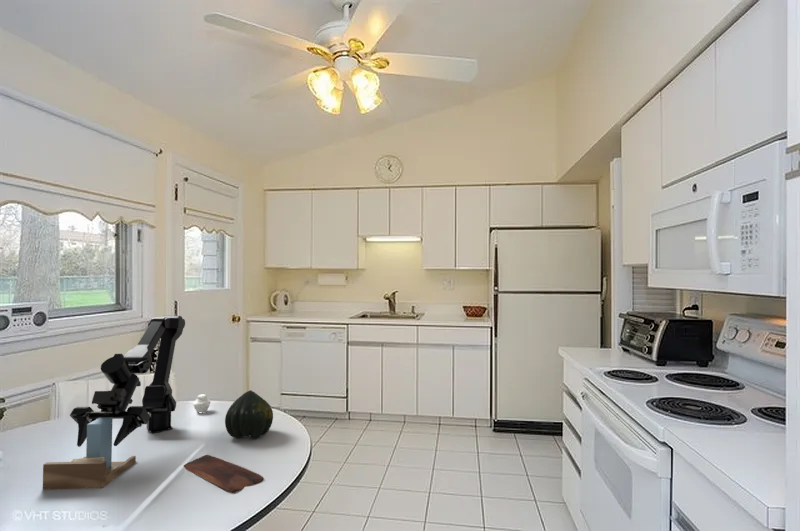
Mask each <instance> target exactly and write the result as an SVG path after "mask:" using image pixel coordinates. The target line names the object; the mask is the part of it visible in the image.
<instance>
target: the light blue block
mask: <svg viewBox="0 0 800 531" xmlns="http://www.w3.org/2000/svg"><path fill="white" fill-rule="evenodd" d="M113 420H114V419H113V418H98V419H96V420H94V421H92V422H91V423H89V424H87V438H86V447H85V448H86V455H85V457H86V458H97V457H104V461H106V469H108V468H109V467H110V466H111V462H112V461H113V460H112V458H113V457H112V454H113Z"/></svg>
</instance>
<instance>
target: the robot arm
mask: <svg viewBox="0 0 800 531" xmlns="http://www.w3.org/2000/svg"><path fill="white" fill-rule="evenodd" d="M185 326H186V320H185V319H184V318H183V317H182V315H162V316H155V317H152V318H151V319H150V322H149V325H148V326H147V328H146V330H145V332H144V333H143V334H142V336H141V338H140V340H139V342H138V343H137V344H136V346H135V347H133V348H131V349H129V350H128V351H127V352H126V353H125V354H123V353H114V355H113V356H111V357H109V358H107V359H106V360H104V361H103V362H102V363H101V365H100V371H101V372H102V373H103V375H104V377H105V378H106V379H107V380H108V381H109V383H110V384H113V386H112V387H111V390H95V391H94V393H93V396H92V400H91V404H92V405H94V404H96V405H97V406H96V407H97V408H98V409H99V410H100V411H94V410H93V408H92V407H90V406H76V407H74V408H73V409H72V410H71V412H70V414H69V417H70V418H71V419H72V420H73V421H74V422H76V424H77V426H78V427H77V428H78V432H77V433H78V434H77V442H76V446H77V447H79V448H80V447H82V446H83V445H84V443H85V441H87V424H89V423H91V422H92V421H94V420H96V419H98V418H113V419H112V420H114V419H115V420H117V419H118V420H119V419H121V420H122V424H121V427H120V428H119V430H118V433H117V435H116V437H115V439H114V440H113V441H114V442H113V446H114V447H117V446H118V445H120V443H121V442H123V441H124V440H125V438H127V437H128V436H129V435H130V434H131V433H132V432H134V431H135V430H136V429H138V428H141V427H142V426H143V425H146V429H147V430H148V432H150V434H156V433H159V432H164V431H169V430H172V429H173V426H172V412H175V411H176V408H177V401H176V399H175V397H174V396H173V389H172V386H171V385H170V383H169V382H170V378H171V377H170V375H171V370H172V364H173V359H174V355H175V354H174V353H175V346H176V343H177V340H178V339H179V338H180V337H181V336H182V334H183V332H184V329H185ZM158 343H159V346H158V353H157V359H156V362H155V369H154V373H153V379H152V382H151V383H150V384H149V385H146V386H145V388H144V394H143V396H142V400H141V404H142V405H135V406H134V405H132V406H131V404H132V403H133V401H134V400H133V398H132V397H133V395H134V393H135V391H136V388H137V387H141V386H142V385H141V384H142V383H141V380H140V377H138V375H139V374H146V373H147V372H148V371H149V370H150V368H151V366H152V362H153V358H152V354H153V351H154V350H155V349H156V346H157V344H158ZM137 374H138V375H137ZM129 404H130V406H129ZM128 406H129V407H128Z"/></svg>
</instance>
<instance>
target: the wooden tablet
mask: <svg viewBox="0 0 800 531" xmlns="http://www.w3.org/2000/svg"><path fill="white" fill-rule="evenodd" d="M183 468H184V469H186V471H187V472H189V473H191V474H194V475H195V476H198V477H199V478H202V479H204V480H206V481H207V482H209V483H211V484H212V485H215V486H217V487H218V488H219V489H220V490H223V491H225V492H227V493H230V494H236V493H239V492H241V491H242V490H244V488H246V487H251V486H255V485H257V484H260V483H261V482H263V481H264V476H262V475H261V474H259V473H257V472H255V471H252V470H250V469H248V468H245V467H243V466H241V465H237V464H235V463H233V462H229V461H227V460H224V459H222V458H219V457H216V456H213V455H211V454H206V455H205V454H204V455H202V456H200V457H198V458H195V459H193V460H191V461H187V463H184V464H183Z"/></svg>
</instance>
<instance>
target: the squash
mask: <svg viewBox="0 0 800 531" xmlns="http://www.w3.org/2000/svg"><path fill="white" fill-rule="evenodd" d="M273 421H274V413H273V409H272V406H271V405H270V403H268V402H267V401H266V400H265V399H264V398H263V397H262V396H260V395H259V394H257V393H256V392H254V391H252V390H251V389H250V390H248V391H246V392H244V393H243V394H242V395H240V396H239V397H238V398H237V399H236V400H235V401H234V402H233V403H232V404H231V405H230V407H229V408H228V410H227V412H226V414H225V418H224V425H225V429H226V431H227V433H228V434H229V436H230V437H232V438H233V439H242V438H248V437H250V438H251V439H252V440H257V439H259V438H260V437H261V436H264V435H266V434H267V433H268V432H269V430H270V429H271V427H272V424H273Z"/></svg>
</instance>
